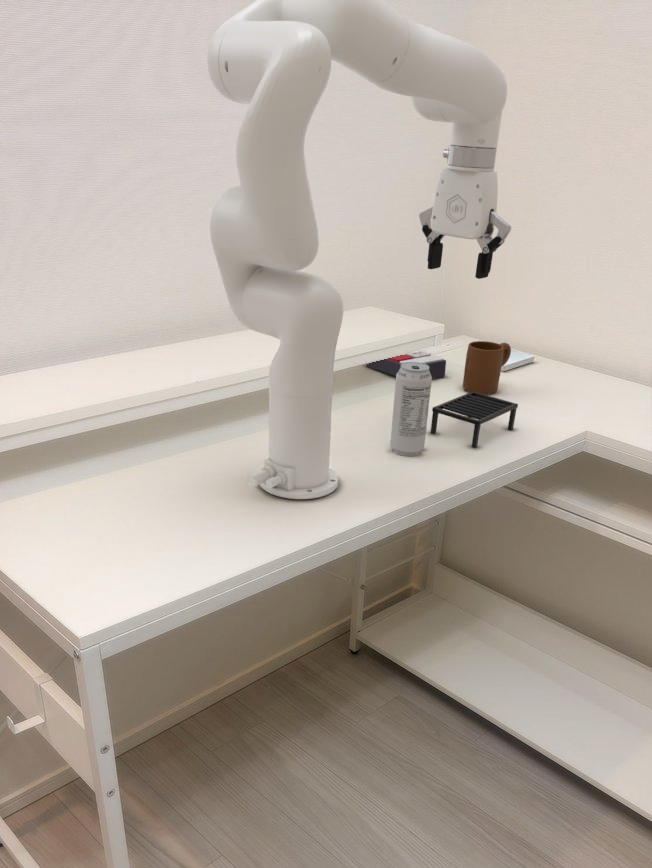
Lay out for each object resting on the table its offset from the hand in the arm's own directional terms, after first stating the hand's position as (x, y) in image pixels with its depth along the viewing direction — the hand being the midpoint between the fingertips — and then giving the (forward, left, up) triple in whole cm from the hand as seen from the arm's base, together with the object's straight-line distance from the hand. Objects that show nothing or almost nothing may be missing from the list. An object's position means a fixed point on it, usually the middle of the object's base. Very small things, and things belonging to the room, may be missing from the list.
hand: (457, 272), depth 138 cm
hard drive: (+48, +13, -28) cm, 57 cm away
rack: (+3, -6, -28) cm, 28 cm away
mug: (+28, +6, -28) cm, 40 cm away
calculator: (+24, +25, -28) cm, 45 cm away
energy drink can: (-14, -3, -28) cm, 31 cm away
